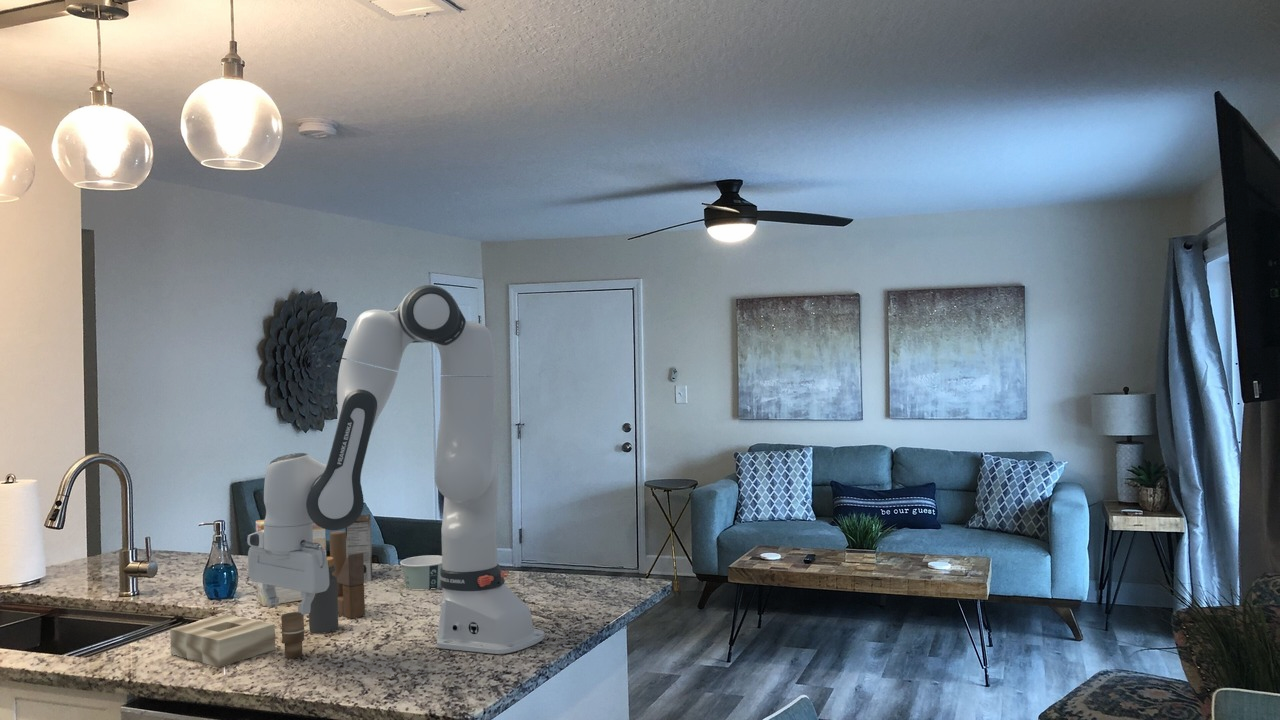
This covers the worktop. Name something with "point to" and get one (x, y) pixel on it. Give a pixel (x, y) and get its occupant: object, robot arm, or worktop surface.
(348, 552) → the coffee box
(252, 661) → the worktop surface
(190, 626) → the board
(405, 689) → the worktop surface
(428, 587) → the food container
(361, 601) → the wooden block
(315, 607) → the bottle
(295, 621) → the peg
